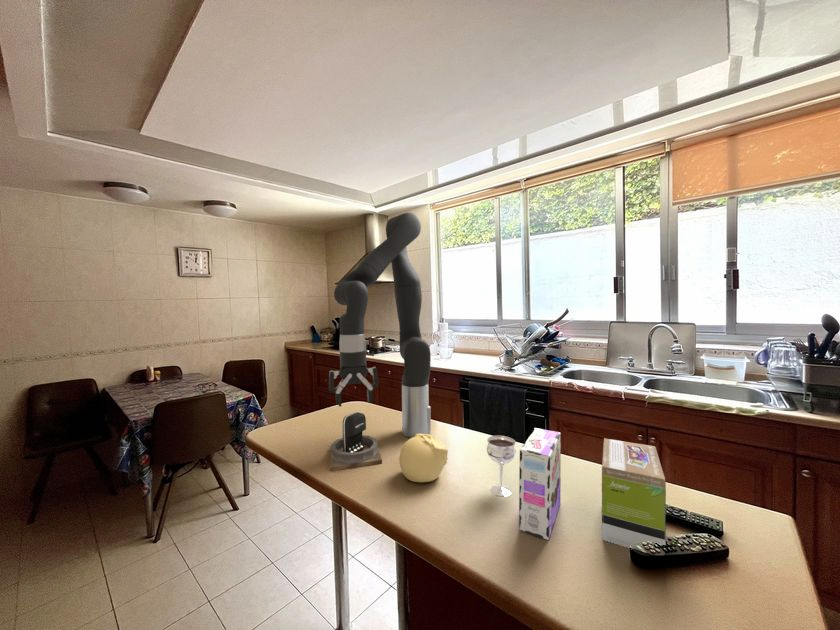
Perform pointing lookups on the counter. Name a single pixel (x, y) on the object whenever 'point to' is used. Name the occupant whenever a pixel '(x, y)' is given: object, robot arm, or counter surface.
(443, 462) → the sculpture
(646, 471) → the tea box
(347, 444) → the battery charger
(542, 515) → the candy box
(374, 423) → the counter surface
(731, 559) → the counter surface
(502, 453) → the wineglass
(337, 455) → the ring collar
